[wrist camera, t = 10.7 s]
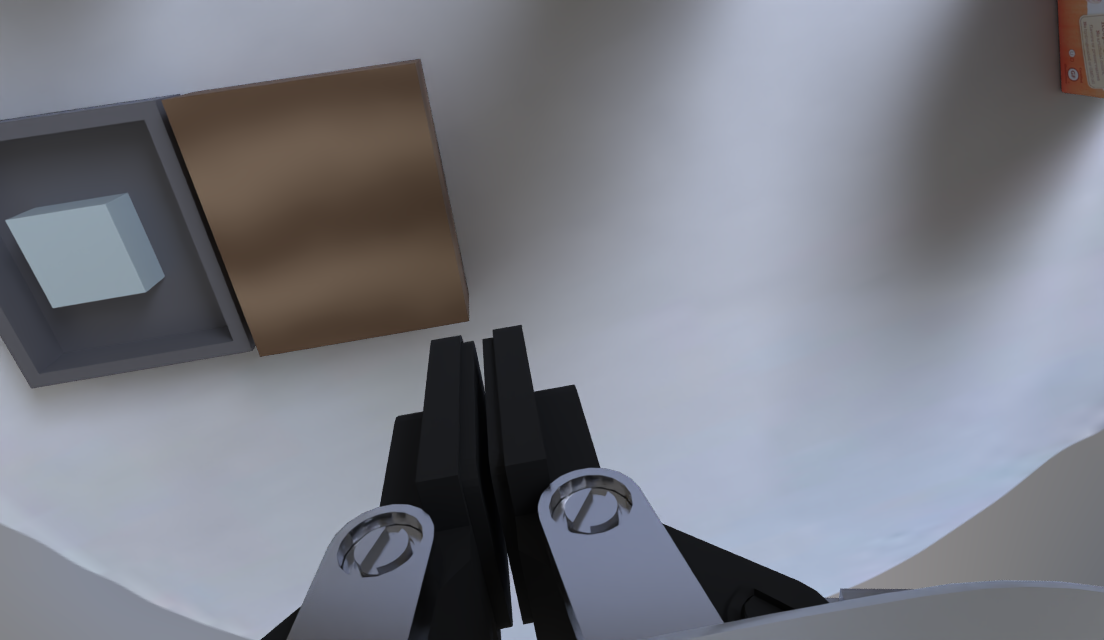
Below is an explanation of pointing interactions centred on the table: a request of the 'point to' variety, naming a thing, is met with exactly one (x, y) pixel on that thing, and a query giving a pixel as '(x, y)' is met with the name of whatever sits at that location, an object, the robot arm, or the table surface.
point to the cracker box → (1082, 46)
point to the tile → (87, 249)
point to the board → (327, 204)
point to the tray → (169, 222)
